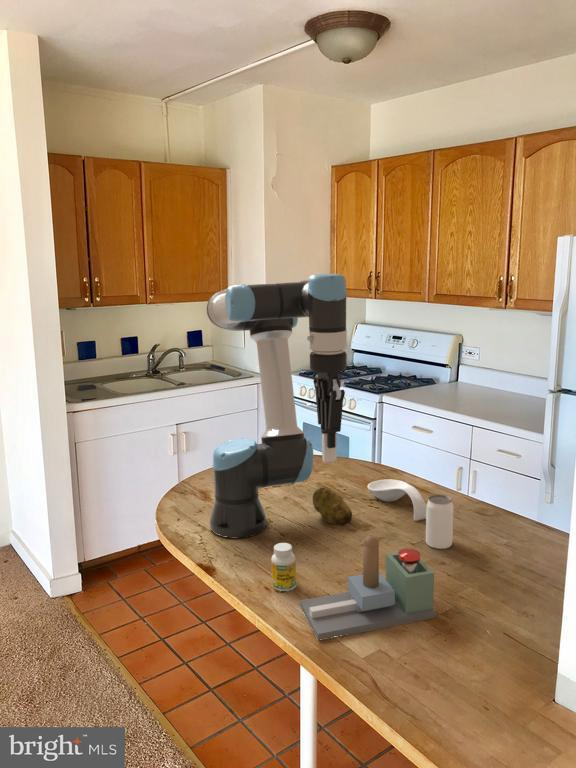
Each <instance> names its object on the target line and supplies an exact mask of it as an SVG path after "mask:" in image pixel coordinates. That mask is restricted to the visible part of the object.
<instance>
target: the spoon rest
mask: <svg viewBox="0 0 576 768" xmlns="http://www.w3.org/2000/svg"><path fill="white" fill-rule="evenodd" d="M367 490H368V491H369V492H370V494H372V495H373V496H374V497H375V498H377V499H378V500H380V501H383V502H389V503H390V502H395V501H397V500H399V499H401V498H403V497H404V496H405V495H406V494H407V496H408V497H409V498H410V500H411V502H412V506H413V521H414V522H418V521H422V520H426V509H427V503H426V502H425V500H424V498H423V495H422V494H420V492H419V491H418V489H417V488H416V487H415V486H413V485H411V484H409V483H407V482H405V481H403V480H400V479H399V480H398V479H390V478H387V479H386V478H385V479H379V480H374V481H371V482H370V483H368V484H367Z"/></svg>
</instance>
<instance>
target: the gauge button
mask: <svg viewBox="0 0 576 768" xmlns="http://www.w3.org/2000/svg"><path fill="white" fill-rule="evenodd" d="M398 552H399V560H400V561H401V562H402V567H403V568H404V569H405V570H406V571H407V573H408V574H413V573H416V571H417V563H418V562H419V561H420V559H421V552H420V551H419V550H417V549H416V548H412V547H411V548H410V547H409V548H408V547H405V548H402V549H400V550H399V551H398Z"/></svg>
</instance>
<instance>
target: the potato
mask: <svg viewBox="0 0 576 768" xmlns="http://www.w3.org/2000/svg"><path fill="white" fill-rule="evenodd" d="M312 504H313V507H314V509H315V510H316V512H318V514H320V516H321V518H322V519H323V520H324V521H325V522H327V523H329V524H333V525H336V526H338V525H339V526H340V525H341V526H345V525H347V524H349V523H351V521H352V518H353V512H352V509H351V508H350V507H349V505H348V504H347V503H346V501H345V500H344V498H343V497H342V496H341V495H340V494H339V493H337V492H336V490H334V489H333V488H331V487H326V486H324V487H320V488H318V489H316V490H315V491H314V492H313V495H312Z"/></svg>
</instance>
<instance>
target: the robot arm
mask: <svg viewBox="0 0 576 768" xmlns="http://www.w3.org/2000/svg"><path fill="white" fill-rule="evenodd" d="M347 295H348V291H347V283H346V277H345V276H344V275H343V274H340V273H318V274H312V275H310V276H309V277H308V280H300V281H294V282H292V281H291V282H277V283H275V282H274V283H260V284H259V283H257V284H256V283H254V284H238V285H230V286H228V287H227V288H226V289H223V290H220V291H218V292H215V293H214V294H213V295H212V296H211V297H209V298H208V301H207V303H206V304H207V305H206V315H207V317H208V319H209V321H210V322H211V323H212V324H213V325H214V326H216V327H218V328H220V329H223V330H228V331H236V332H237V331H238V332H242V331H243V332H244V331H249V336H250V339H251V340H253V341H254V342H255V344H256V349H257V359H258V367H259V377H260V385H261V395H262V407H263V415H264V426H265V431H264V432H263V434H262V435H261V438H260V439H261V443H257V441H256V439H255V440H254V439H253V438H248V437H247V438H243V437H242V438H235V439H234V438H233V439H230V440H227V441H225V442H223V443H220V444H219V445H218V446H217V447H215V449H214V450H213V454H212V465H211V466H212V469H213V481H214V482H213V485H214V497H215V498H214V504H213V507H212V511H211V514H210V519H209V528H211V529H212V531H214V532H215V533H217V534H220V535H222V536H227V537H244V538H247V537H246V536H249V537H252V536H251V535H253V536H255V535H257V533H258V534H259V532H260V533H261V532H263V531H264V530H265V529H266V527H267V517H266V513H265V510H264V508H263V506H262V502H261V500H260V498H259V489H260V488H261V489H262V488H268V487H277V486H281V485H282V486H283V485H288V484H289V485H294V484H296V483H301V482H302V483H303V482H305V481H307V480H308V479H309V478H310V477H311V475H312V472H313V468H314V467H313V466H314V448H313V446H312V445H313V443H312V441H311V439H310V438H308V437H305V433H304V431H303V430H302V429H301V428H299V426H298V421H297V411H296V404H295V403H296V402H295V395H294V394H295V393H294V386H293V385H294V384H293V376H292V365H291V360H290V349H289V338H291V336H292V334H293V328H296V326H297V324H298V321H299V319H298V318H300V319H301V318H308V325H309V327H308V328H309V330H308V331H309V336H307V337H306V339H307V341H308V342H309V349H310V353H309V369H310V370H311V371H312V372H314V373H317V378H314V379H313V381H312V382H313V386H314V391H315V401H316V404H315V405H316V412H317V414H316V415H317V424H318V426H319V425H320V430H321V456H322V458H321V459H322V462H323V463H331V462H337V460H338V457H337V456H338V454H337V453H338V449H337V433H339V432H341V431H342V428H341V427H342V418H343V417H342V416H343V407H344V405H343V404H344V399H345V395H346V394H345V393H346V392H345V390H344V389H340V388H341V386H342V385H341V380H340V376H339V374H340V373H341V372H344V371H345V370H347V369H348V368H347V367H348V366H347V363H348V362H347V361H348V360H347V357H348V356H347V355H348V353H347V352H346V351H345V350H346V349H347V348H348V341H347V340H348V336H347V334H348V330H347ZM211 529H210V530H211ZM263 529H264V530H263ZM212 531H211V532H212ZM254 534H255V535H254Z"/></svg>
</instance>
